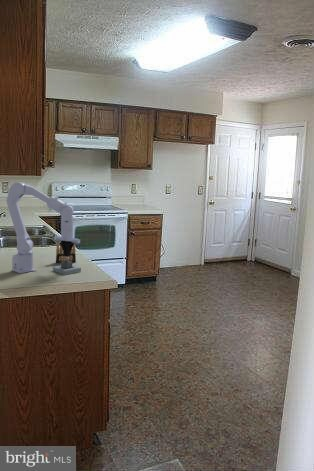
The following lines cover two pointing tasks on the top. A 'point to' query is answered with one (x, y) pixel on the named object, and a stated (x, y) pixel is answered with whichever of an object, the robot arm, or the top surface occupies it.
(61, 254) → the ammunition clip
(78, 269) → the socket plate
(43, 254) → the top surface
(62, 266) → the plug
